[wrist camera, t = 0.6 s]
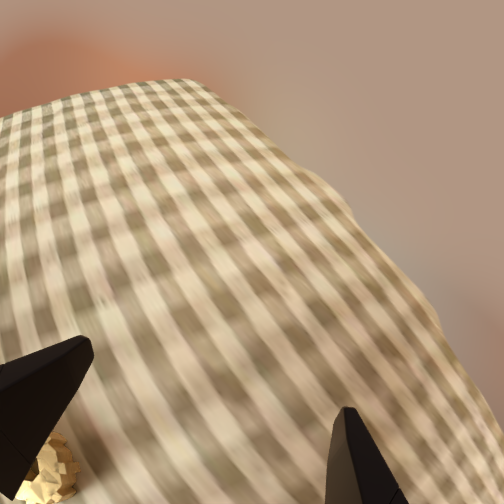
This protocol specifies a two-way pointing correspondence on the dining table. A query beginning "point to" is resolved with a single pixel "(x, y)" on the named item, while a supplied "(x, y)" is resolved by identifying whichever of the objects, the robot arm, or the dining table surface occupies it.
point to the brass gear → (51, 474)
